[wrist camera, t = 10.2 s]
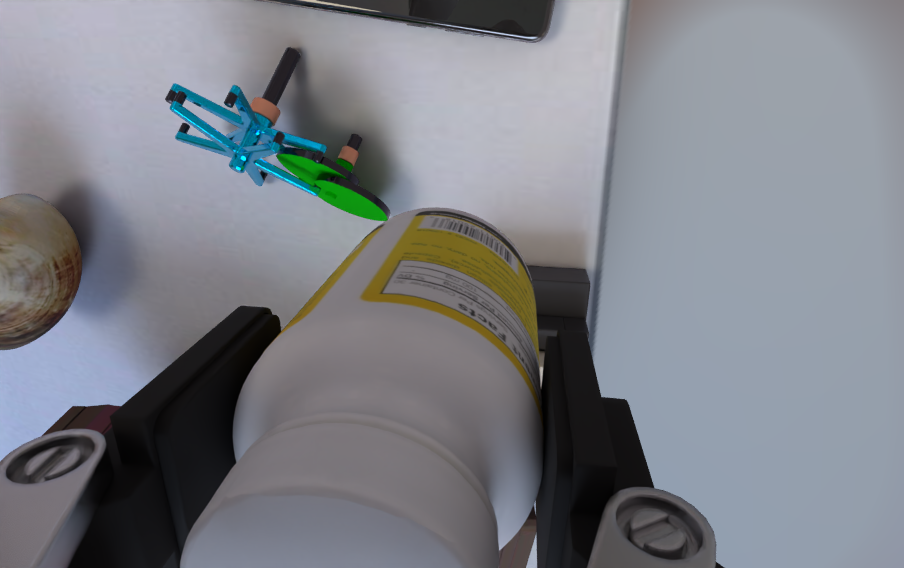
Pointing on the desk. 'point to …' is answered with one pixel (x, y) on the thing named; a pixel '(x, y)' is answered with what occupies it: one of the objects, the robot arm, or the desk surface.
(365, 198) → the stick construction toy
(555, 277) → the dark gray block frame
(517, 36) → the smartphone
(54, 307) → the seashell
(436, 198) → the desk surface
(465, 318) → the supplement bottle
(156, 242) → the desk surface
